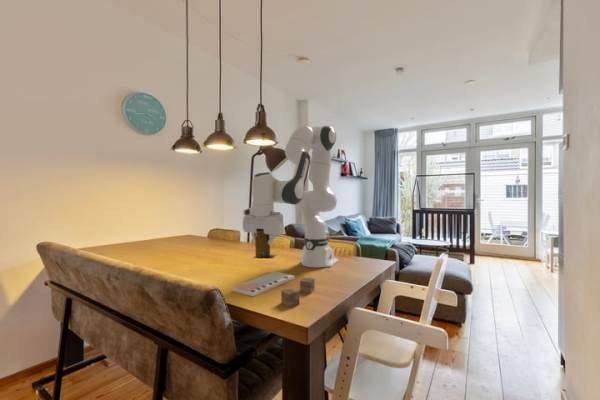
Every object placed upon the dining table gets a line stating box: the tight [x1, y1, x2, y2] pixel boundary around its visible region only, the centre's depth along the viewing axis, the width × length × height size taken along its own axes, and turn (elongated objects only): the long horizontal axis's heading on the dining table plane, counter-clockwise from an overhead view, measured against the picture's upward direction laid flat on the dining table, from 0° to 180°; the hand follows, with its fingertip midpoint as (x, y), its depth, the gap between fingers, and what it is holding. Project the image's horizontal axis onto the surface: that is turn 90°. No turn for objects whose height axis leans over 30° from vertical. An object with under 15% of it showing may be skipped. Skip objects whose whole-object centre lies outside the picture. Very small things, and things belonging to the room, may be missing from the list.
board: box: [231, 271, 295, 297], centre depth 119 cm, size 26×11×2 cm, turn 146°
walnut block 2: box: [299, 277, 316, 294], centre depth 111 cm, size 4×4×4 cm
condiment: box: [252, 229, 277, 259], centre depth 119 cm, size 7×8×12 cm
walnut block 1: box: [280, 287, 300, 308], centre depth 98 cm, size 4×4×4 cm
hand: (263, 244), depth 119 cm, fingers closed on condiment, 6 cm apart
